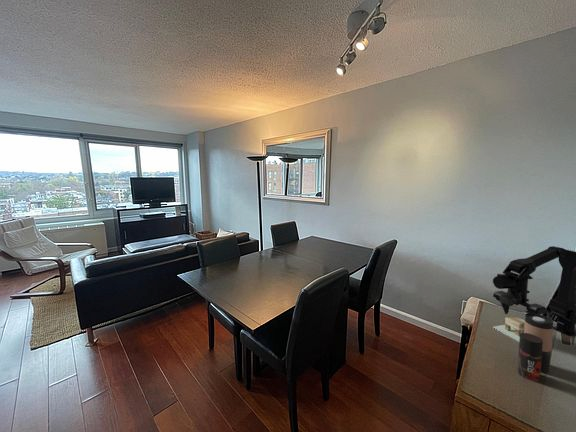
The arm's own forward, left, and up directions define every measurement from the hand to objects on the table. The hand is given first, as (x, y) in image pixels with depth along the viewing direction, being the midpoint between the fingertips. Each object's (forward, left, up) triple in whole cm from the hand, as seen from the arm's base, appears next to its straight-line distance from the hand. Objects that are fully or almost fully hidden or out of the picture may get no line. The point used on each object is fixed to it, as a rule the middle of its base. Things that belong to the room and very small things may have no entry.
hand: (516, 318), depth 112 cm
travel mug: (+16, +18, -8) cm, 25 cm away
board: (0, 0, -8) cm, 8 cm away
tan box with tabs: (0, 0, -7) cm, 7 cm away
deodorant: (+24, +21, -8) cm, 33 cm away
